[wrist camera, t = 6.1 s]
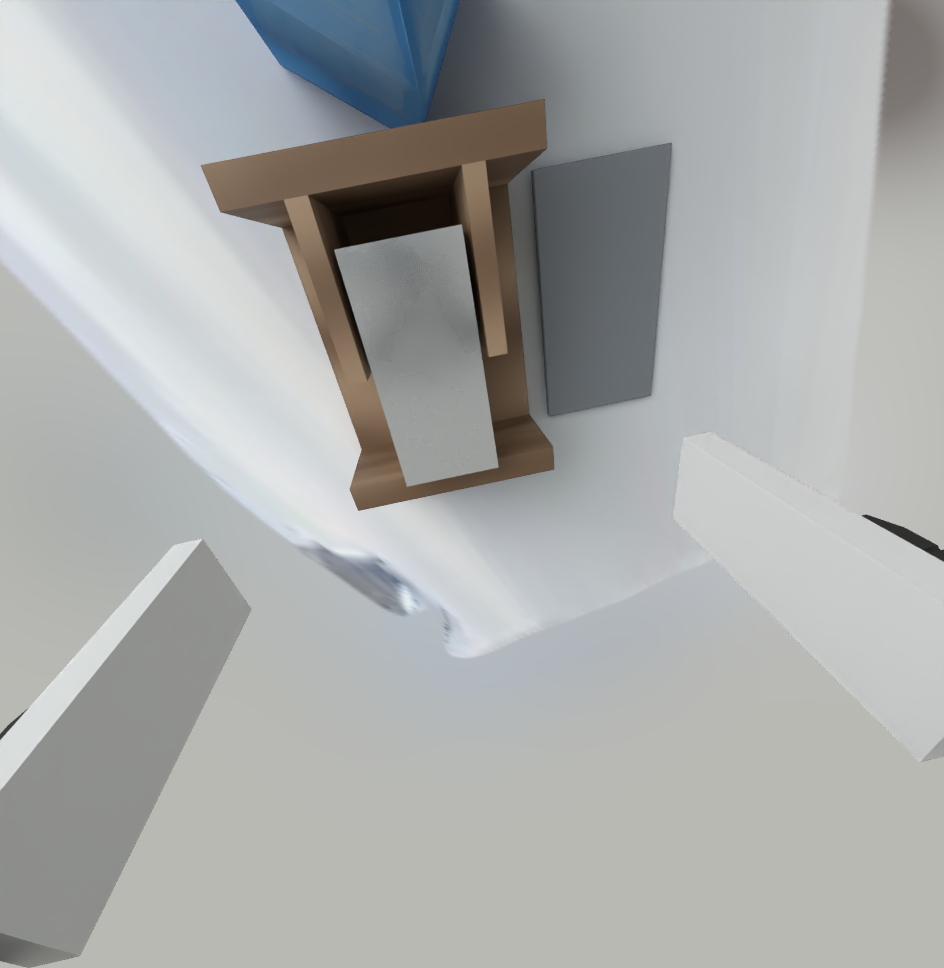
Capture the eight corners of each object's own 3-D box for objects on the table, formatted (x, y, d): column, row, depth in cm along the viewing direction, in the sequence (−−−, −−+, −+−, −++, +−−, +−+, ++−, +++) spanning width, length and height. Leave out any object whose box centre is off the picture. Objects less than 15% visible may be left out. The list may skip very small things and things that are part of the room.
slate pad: (531, 171, 19) (533, 169, 18) (667, 144, 19) (671, 142, 19) (547, 414, 25) (549, 416, 25) (647, 393, 26) (650, 395, 25)
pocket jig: (277, 199, 18) (200, 165, 12) (500, 156, 18) (544, 99, 12) (370, 461, 26) (354, 527, 19) (527, 428, 26) (563, 483, 19)
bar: (349, 252, 16) (333, 249, 13) (453, 231, 16) (461, 224, 13) (408, 455, 21) (406, 486, 18) (487, 438, 21) (498, 467, 18)
